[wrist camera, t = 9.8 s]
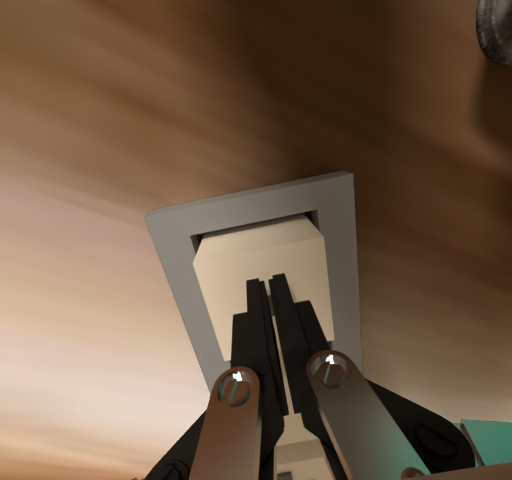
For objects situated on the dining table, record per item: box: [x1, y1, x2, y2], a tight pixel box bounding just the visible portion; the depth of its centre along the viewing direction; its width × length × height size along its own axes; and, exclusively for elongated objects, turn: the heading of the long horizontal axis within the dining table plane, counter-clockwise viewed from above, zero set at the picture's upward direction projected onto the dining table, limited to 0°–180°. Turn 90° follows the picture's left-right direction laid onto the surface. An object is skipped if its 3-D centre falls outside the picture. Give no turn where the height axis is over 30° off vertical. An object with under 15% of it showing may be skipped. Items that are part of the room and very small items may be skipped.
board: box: [144, 171, 363, 394], centre depth 18 cm, size 11×26×2 cm, turn 11°
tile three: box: [277, 439, 332, 480], centre depth 20 cm, size 6×6×4 cm
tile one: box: [193, 213, 334, 361], centre depth 14 cm, size 6×6×4 cm
